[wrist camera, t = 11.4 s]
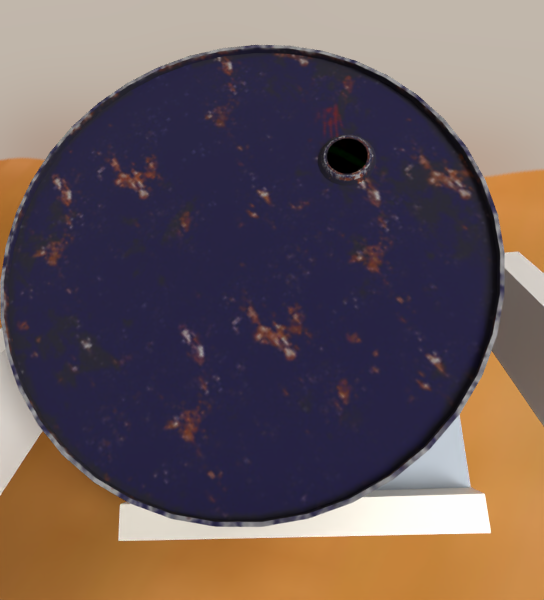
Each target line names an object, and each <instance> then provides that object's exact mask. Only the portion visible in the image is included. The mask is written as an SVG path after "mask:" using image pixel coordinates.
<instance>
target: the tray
mask: <svg viewBox="0 0 544 600" xmlns="http://www.w3.org/2000/svg"><path fill="white" fill-rule="evenodd" d="M463 533H491V530H490V524H489V518H488V511H487V505H486V499H485V494H484V493H482V492H480V491H478V490H475V489H473V488H471V487H470V480H469V474H468V467H467V461H466V454H465V448H464V441H463V435H462V428H461V422H460V415H459V416H458V417H457V418H456V419H455V420H454V421H453V423H452V424H451V425H450V426H449V427H448V429H447V430H446V431H445V432H444V433H443V434H442V436H441V437H440V438H439V439H438V440H437V441H436V443H435V444H434V445H433V446H432V447H431V448H430V450H428V451H427V452H426V453H425V454H424V455H422V456H421V457H420V458H419V459H418V460H416V461H415V462H414V463H413V464H412V465H410V466H409V467H408V468H407V469H405V470H404V471H403V472H402V473H401V474H399V475H398V476H397V477H396V478H395V479H393V480H392V481H390V482H388V483H386V484H385V485H383V486H381V487H379V488H378V489H376V490H374V491H372V492H371V493H369V494H367V495H365V496H364V497H362V498H360V499H358V500H357V501H355V502H353V503H350V504H348V505H345V506H342V507H339V508H337V509H334V510H331V511H328V512H326V513H323V514H320V515H317V516H315V517H312V518H309V519H304V520H298V521H293V522H287V523H281V524H276V525H270V526H264V527H214V526H208V525H203V524H197V523H192V522H186V521H180V520H175V519H170V518H168V517H165V516H162V515H160V514H157V513H154V512H151V511H149V510H146V509H143V508H141V507H138V506H135V505H133V504H130V503H128V502H124V503H122V504H120V517H119V539H118V541H138V540H185V539H231V538H277V537H324V536H370V535H416V534H463Z"/></svg>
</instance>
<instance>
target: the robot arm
mask: <svg viewBox="0 0 544 600" xmlns="http://www.w3.org/2000/svg"><path fill="white" fill-rule="evenodd" d="M492 352H493V353H494V355H495V356H496V358H497V359H498V360H499V362H500V363H501V365H502V366H503V368H504V369H505V371H506V372H507V374H508V375H509V376H510V378H511V379H512V381H513V382H514V384H515V385H516V387H517V388H518V390H519V391H520V393H521V394H522V395H523V397H524V398H525V400H526V401H527V403H528V404H529V406H530V407H531V409H532V410H533V412H534V413H535V414H536V416H537V417H538V419H539V420H540V422H541V423H542V425H543V426H544V273H543V272H541V271H540V270H539V269H538V268H537V267H536V266H534V265H533V264H532V263H531V262H530V261H529V260H527V259H526V258H525V257H524V256H523V255H522V254H520V253H519V252H509V253H505V294H504V300H503V305H502V311H501V316H500V322H499V327H498V333H497V337H496V340H495V342H494V345H493V348H492ZM42 431H43V430H42V429H41V428H40V427H39V425H38V424H37V422H36V420H35V419H34V417H33V415H32V413H31V411H30V410H29V408H28V406H27V404H26V402H25V400H24V399H23V397H22V395H21V393H20V391H19V389H18V386H17V383H16V380H15V378H14V375H13V372H12V369H11V366H10V363H9V360H8V357H7V354H6V348H5V342H4V336H3V330H2V328H1V329H0V495H1V493H2V492H3V490H4V489H5V487H6V486H7V484H8V483H9V481H10V480H11V478H12V477H13V475H14V474H15V472H16V471H17V469H18V468H19V466H20V464H21V463H22V461H23V460H24V458H25V457H26V455H27V454H28V452H29V451H30V449H31V448H32V446H33V445H34V443H35V442H36V440H37V439H38V437H39V436H40V434H41V432H42Z"/></svg>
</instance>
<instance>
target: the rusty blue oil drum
mask: <svg viewBox="0 0 544 600" xmlns="http://www.w3.org/2000/svg"><path fill="white" fill-rule="evenodd" d="M504 294H505V253H504V247H503V242H502V236H501V230H500V224H499V219H498V214H497V211H496V209H495V206H494V203H493V200H492V197H491V195H490V192H489V189H488V186H487V184H486V181H485V178H484V177H483V175H482V173H481V172H480V170H479V168H478V166H477V164H476V163H475V161H474V159H473V157H472V156H471V154H470V152H469V150H468V148H467V147H466V146H465V144H464V143H463V142H462V141H461V140H460V138H459V137H458V136H457V134H456V133H455V132H454V131H453V129H452V128H451V127H450V126H449V125H448V123H447V122H446V121H445V120H444V118H442V117H441V116H440V115H439V114H438V113H437V112H436V111H435V110H433V109H432V108H431V107H430V106H429V105H428V104H427V103H426V102H425V101H424V100H422V99H421V98H420V97H419V96H418V95H417V94H415V93H414V92H412V91H411V90H409V89H408V88H406V87H405V86H403V85H402V84H400V83H398V82H397V81H395V80H394V79H392V78H391V77H389V76H388V75H386V74H383V73H381V72H379V71H377V70H374V69H372V68H370V67H368V66H366V65H364V64H362V63H360V62H357V61H355V60H351V59H348V58H345V57H341V56H338V55H335V54H331V53H328V52H324V51H319V50H313V49H306V48H300V47H294V46H277V45H251V46H241V47H231V48H222V49H217V50H213V51H209V52H205V53H200V54H196V55H192V56H188V57H185V58H183V59H180V60H177V61H174V62H172V63H169V64H166V65H164V66H161V67H158V68H156V69H154V70H152V71H150V72H148V73H146V74H144V75H142V76H141V77H138V78H137V79H135V80H133V81H131V82H129V83H127V84H125V85H124V86H123V87H121V88H120V89H118V90H117V91H115V92H114V93H112V94H111V95H109V96H108V97H106V98H105V99H104V100H102V101H101V102H99V103H98V104H97V105H96V106H95V107H94V108H92V109H91V110H90V111H89V112H88V113H87V114H86V115H85V116H83V117H82V118H81V119H80V120H79V121H78V122H77V123H76V124H74V125H73V126H72V128H71V129H70V130H69V131H68V132H67V133H66V134H65V136H64V137H63V138H62V139H61V140H60V142H59V143H58V144H57V145H56V146H55V147H54V148H53V149H52V151H51V152H50V153H49V155H48V156H47V158H46V159H45V161H44V162H43V164H42V165H41V167H40V168H39V170H38V172H37V173H36V175H35V176H34V178H33V179H32V181H31V183H30V185H29V187H28V189H27V191H26V193H25V195H24V197H23V200H22V202H21V204H20V206H19V208H18V210H17V212H16V215H15V219H14V222H13V225H12V228H11V231H10V235H9V238H8V241H7V244H6V249H5V255H4V262H3V268H2V275H1V281H0V296H1V324H2V330H3V336H4V342H5V348H6V354H7V357H8V360H9V363H10V366H11V369H12V372H13V375H14V378H15V380H16V383H17V386H18V389H19V391H20V393H21V395H22V397H23V399H24V400H25V402H26V404H27V406H28V408H29V410H30V411H31V413H32V415H33V417H34V419H35V420H36V422H37V424H38V425H39V427H40V428H41V429H42V430H43V431H44V433H45V434H46V435H47V436H48V438H49V439H50V440H51V441H52V443H53V444H54V445H55V446H56V448H57V449H58V450H59V451H60V453H61V454H62V455H63V456H64V457H65V458H67V459H68V460H69V461H70V462H71V463H72V464H73V465H75V466H76V467H77V468H78V469H79V470H80V471H81V472H83V473H84V474H85V475H86V476H87V477H88V478H90V479H91V480H92V481H93V482H95V483H96V484H98V485H100V486H101V487H103V488H105V489H106V490H108V491H110V492H111V493H113V494H115V495H116V496H118V497H120V498H122V499H123V500H125V501H127V502H128V503H130V504H133V505H135V506H138V507H141V508H143V509H146V510H149V511H151V512H154V513H157V514H160V515H162V516H165V517H168V518H170V519H175V520H180V521H186V522H192V523H197V524H203V525H208V526H214V527H264V526H270V525H276V524H281V523H287V522H293V521H298V520H304V519H309V518H312V517H315V516H317V515H320V514H323V513H326V512H328V511H331V510H334V509H337V508H339V507H342V506H345V505H348V504H350V503H353V502H355V501H357V500H358V499H360V498H362V497H364V496H365V495H367V494H369V493H371V492H372V491H374V490H376V489H378V488H379V487H381V486H383V485H385V484H386V483H388V482H390V481H392V480H393V479H395V478H396V477H397V476H398V475H399V474H401V473H402V472H403V471H404V470H405V469H407V468H408V467H409V466H410V465H412V464H413V463H414V462H415V461H416V460H418V459H419V458H420V457H421V456H422V455H424V454H425V453H426V452H427V451H428V450H430V448H431V447H432V446H433V445H434V444H435V443H436V441H437V440H438V439H439V438H440V437H441V436H442V434H443V433H444V432H445V431H446V430H447V429H448V427H449V426H450V425H451V424H452V423H453V421H454V420H455V419H456V418H457V417H458V416H459V414H460V413H461V411H462V409H463V408H464V406H465V404H466V402H467V401H468V399H469V397H470V396H471V394H472V392H473V391H474V389H475V387H476V385H477V384H478V382H479V380H480V379H481V377H482V375H483V372H484V369H485V367H486V364H487V361H488V359H489V356H490V353H491V350H492V348H493V345H494V342H495V340H496V337H497V333H498V327H499V322H500V316H501V311H502V305H503V300H504Z"/></svg>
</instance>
